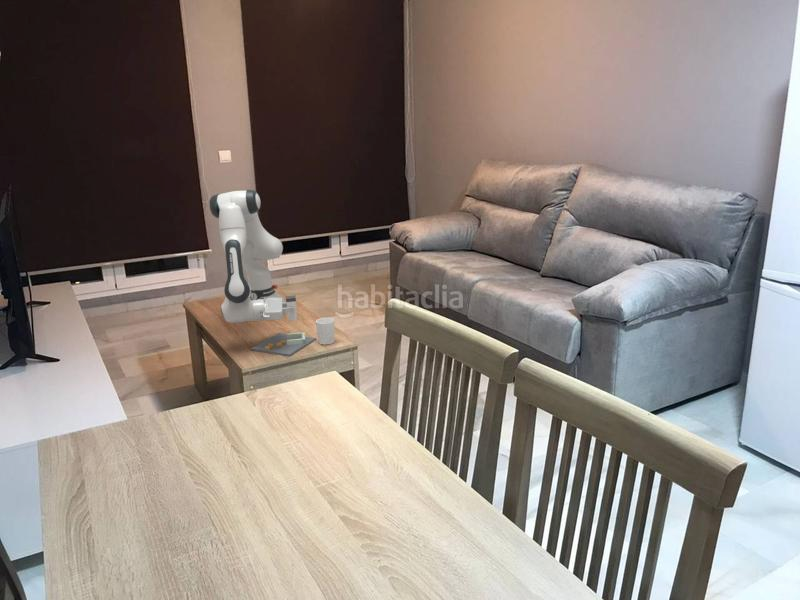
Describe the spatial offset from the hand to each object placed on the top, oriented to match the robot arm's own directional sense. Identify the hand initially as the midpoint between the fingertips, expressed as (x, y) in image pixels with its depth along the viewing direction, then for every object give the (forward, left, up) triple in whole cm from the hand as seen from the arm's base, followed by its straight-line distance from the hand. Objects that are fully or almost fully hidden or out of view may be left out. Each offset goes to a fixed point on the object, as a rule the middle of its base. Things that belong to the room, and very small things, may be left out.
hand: (293, 307), depth 280 cm
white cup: (-5, +12, -16) cm, 21 cm away
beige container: (+1, -1, -5) cm, 6 cm away
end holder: (0, -1, -16) cm, 16 cm away
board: (+4, -4, -16) cm, 17 cm away
